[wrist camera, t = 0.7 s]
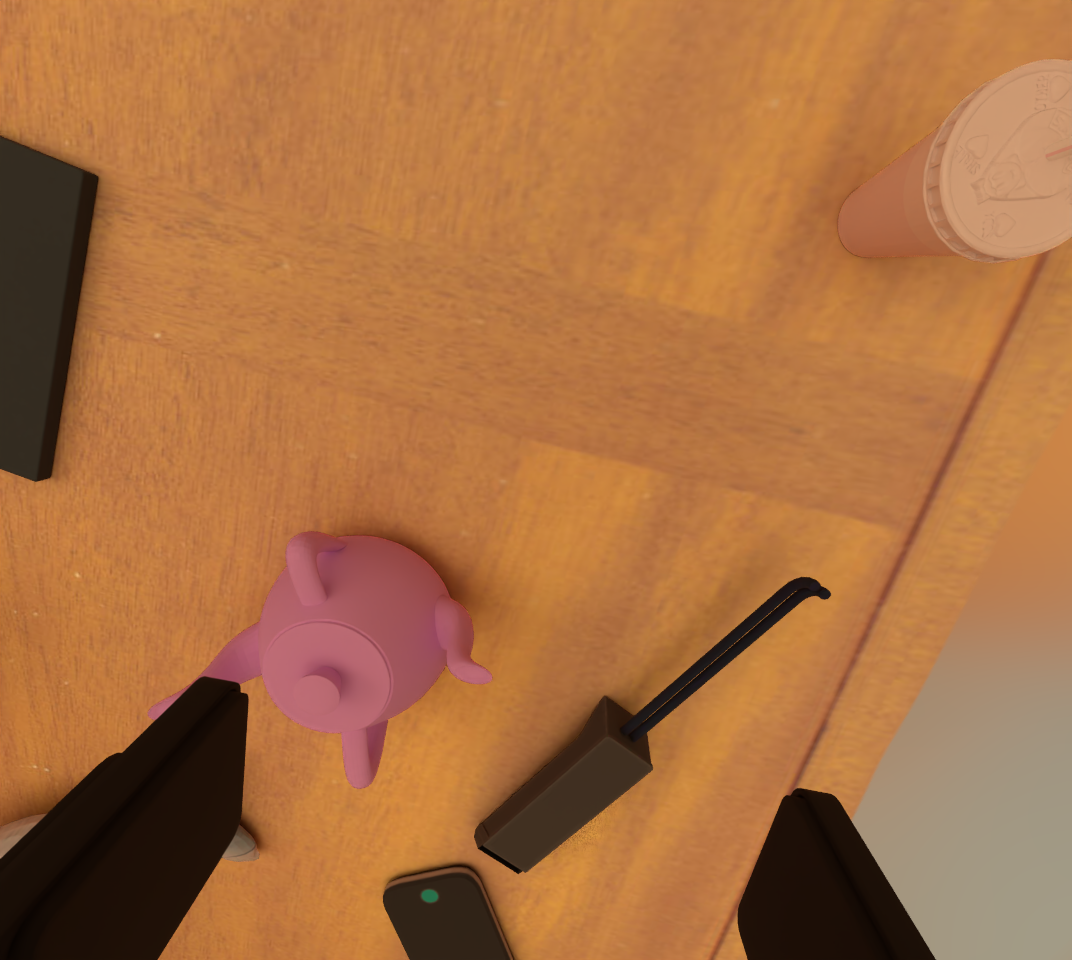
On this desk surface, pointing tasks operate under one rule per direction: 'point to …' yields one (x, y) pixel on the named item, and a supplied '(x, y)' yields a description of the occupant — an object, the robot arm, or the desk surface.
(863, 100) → the desk surface
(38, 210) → the mat
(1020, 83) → the smoothie
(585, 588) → the desk surface
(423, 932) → the smartphone
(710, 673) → the hook tool
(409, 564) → the teapot
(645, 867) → the desk surface
